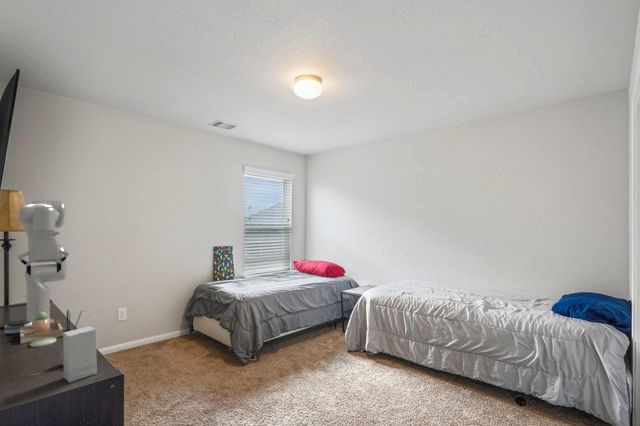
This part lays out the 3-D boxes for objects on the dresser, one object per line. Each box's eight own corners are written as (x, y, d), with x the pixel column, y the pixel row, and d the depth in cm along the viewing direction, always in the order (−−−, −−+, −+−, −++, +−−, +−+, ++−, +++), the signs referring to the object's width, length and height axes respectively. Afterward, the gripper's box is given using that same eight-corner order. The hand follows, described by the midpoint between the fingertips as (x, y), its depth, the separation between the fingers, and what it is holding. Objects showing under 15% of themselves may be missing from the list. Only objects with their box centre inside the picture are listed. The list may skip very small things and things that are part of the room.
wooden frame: (20, 335, 160) (20, 327, 160) (59, 328, 170) (59, 320, 171) (20, 344, 148) (20, 334, 149) (63, 335, 159) (63, 327, 159)
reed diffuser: (57, 363, 126) (57, 309, 127) (80, 357, 131) (80, 306, 131) (60, 371, 118) (60, 314, 119) (84, 365, 123) (84, 310, 124)
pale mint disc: (29, 343, 149) (29, 341, 149) (55, 338, 155) (55, 336, 155) (30, 348, 142) (30, 346, 142) (57, 343, 148) (57, 341, 148)
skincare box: (91, 369, 119) (91, 325, 120) (97, 374, 115) (97, 328, 116) (62, 378, 113) (62, 331, 113) (68, 383, 109) (68, 335, 109)
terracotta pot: (33, 335, 160) (33, 311, 160) (49, 332, 164) (49, 309, 164) (33, 338, 155) (33, 313, 156) (50, 335, 159) (50, 311, 160)
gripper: (67, 234, 156) (67, 270, 156) (17, 235, 145) (17, 275, 144) (69, 234, 151) (69, 272, 150) (18, 235, 139) (17, 276, 139)
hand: (44, 273), depth 147 cm, fingers open, 9 cm apart
